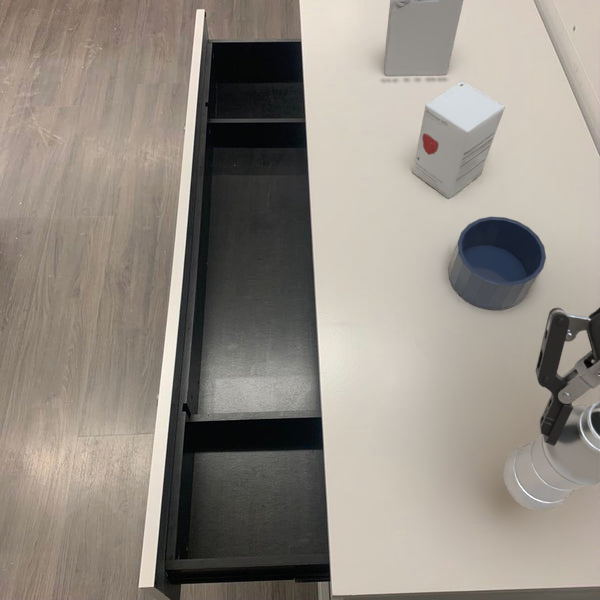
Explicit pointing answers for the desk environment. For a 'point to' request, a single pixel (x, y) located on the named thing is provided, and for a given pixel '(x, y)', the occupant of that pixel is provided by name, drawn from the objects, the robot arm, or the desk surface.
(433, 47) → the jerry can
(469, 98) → the white product box
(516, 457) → the silver bottle
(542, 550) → the desk surface
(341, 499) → the desk surface
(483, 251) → the bowl
